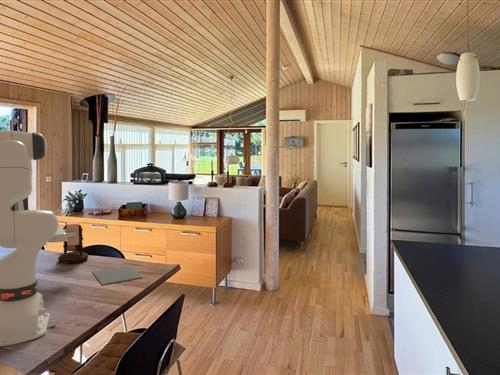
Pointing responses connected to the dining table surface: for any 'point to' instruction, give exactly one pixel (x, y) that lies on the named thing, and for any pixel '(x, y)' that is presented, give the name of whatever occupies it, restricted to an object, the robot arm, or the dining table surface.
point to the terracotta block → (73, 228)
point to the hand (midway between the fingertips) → (74, 232)
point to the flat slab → (116, 275)
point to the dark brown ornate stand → (77, 250)
